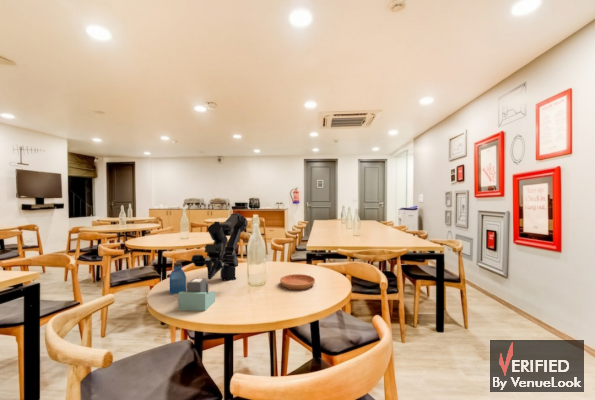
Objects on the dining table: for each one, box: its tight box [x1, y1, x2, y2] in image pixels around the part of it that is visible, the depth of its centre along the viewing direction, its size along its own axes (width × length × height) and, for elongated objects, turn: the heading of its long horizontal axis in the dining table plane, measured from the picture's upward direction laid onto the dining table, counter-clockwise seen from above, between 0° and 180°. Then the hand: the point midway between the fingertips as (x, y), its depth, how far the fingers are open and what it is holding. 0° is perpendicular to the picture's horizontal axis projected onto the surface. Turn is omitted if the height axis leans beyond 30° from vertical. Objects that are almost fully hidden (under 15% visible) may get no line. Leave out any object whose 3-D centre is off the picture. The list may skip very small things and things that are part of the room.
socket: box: [177, 290, 216, 312], centre depth 95 cm, size 9×10×6 cm
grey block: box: [186, 278, 209, 294], centre depth 95 cm, size 6×6×9 cm
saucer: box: [279, 273, 316, 291], centre depth 119 cm, size 16×16×3 cm
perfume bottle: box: [169, 261, 187, 295], centre depth 111 cm, size 6×6×12 cm
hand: (209, 279), depth 106 cm, fingers closed
